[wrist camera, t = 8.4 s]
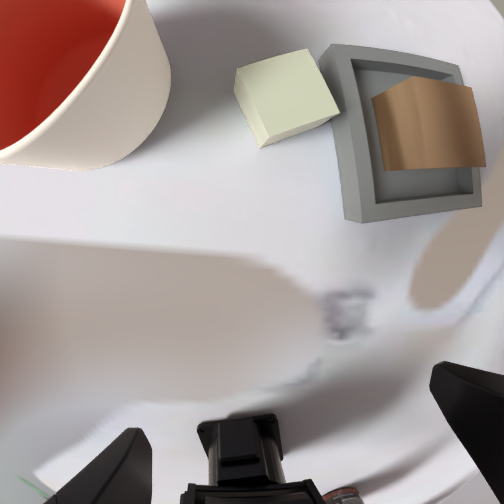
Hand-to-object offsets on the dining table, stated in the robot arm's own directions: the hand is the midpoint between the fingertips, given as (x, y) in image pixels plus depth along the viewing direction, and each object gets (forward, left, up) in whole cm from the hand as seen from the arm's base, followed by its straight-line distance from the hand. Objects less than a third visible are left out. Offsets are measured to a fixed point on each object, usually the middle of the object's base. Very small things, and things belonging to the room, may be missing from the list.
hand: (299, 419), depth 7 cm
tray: (+9, -12, -12) cm, 19 cm away
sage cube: (+11, -3, -12) cm, 17 cm away
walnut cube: (+9, -12, -11) cm, 19 cm away
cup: (+14, +8, -12) cm, 20 cm away
